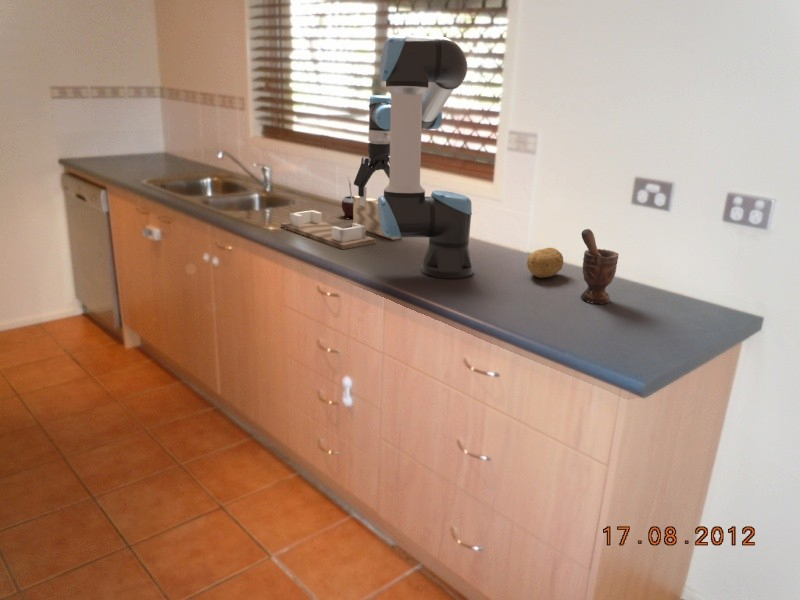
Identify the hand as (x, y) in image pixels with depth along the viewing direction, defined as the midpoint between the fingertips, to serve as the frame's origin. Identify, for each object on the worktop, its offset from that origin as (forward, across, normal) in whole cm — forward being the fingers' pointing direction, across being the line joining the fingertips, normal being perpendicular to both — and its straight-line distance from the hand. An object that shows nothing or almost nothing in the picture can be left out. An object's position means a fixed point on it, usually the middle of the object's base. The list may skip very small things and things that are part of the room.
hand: (377, 203), depth 236 cm
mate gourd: (+11, +6, +22) cm, 26 cm away
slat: (+10, 0, 0) cm, 10 cm away
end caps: (+9, -18, +6) cm, 21 cm away
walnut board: (+10, -18, +6) cm, 22 cm away
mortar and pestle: (+9, -3, -90) cm, 91 cm away
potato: (+10, +5, -69) cm, 70 cm away
